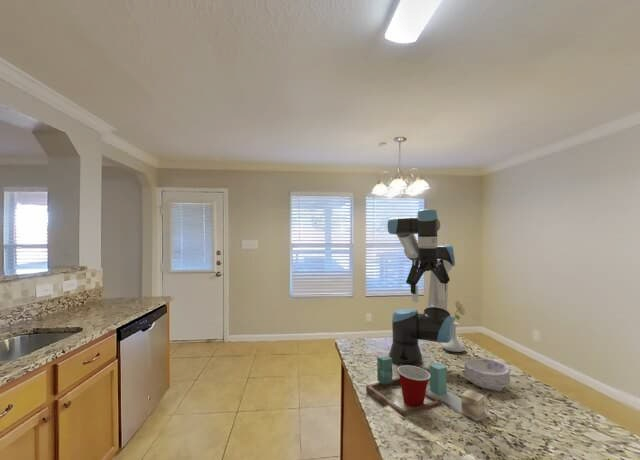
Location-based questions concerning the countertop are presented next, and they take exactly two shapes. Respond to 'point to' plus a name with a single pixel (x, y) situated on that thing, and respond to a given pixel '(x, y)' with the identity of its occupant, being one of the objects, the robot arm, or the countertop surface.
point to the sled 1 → (386, 381)
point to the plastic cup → (413, 384)
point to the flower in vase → (454, 342)
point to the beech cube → (473, 403)
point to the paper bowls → (487, 373)
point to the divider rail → (459, 412)
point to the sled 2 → (440, 390)
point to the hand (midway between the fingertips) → (428, 300)
